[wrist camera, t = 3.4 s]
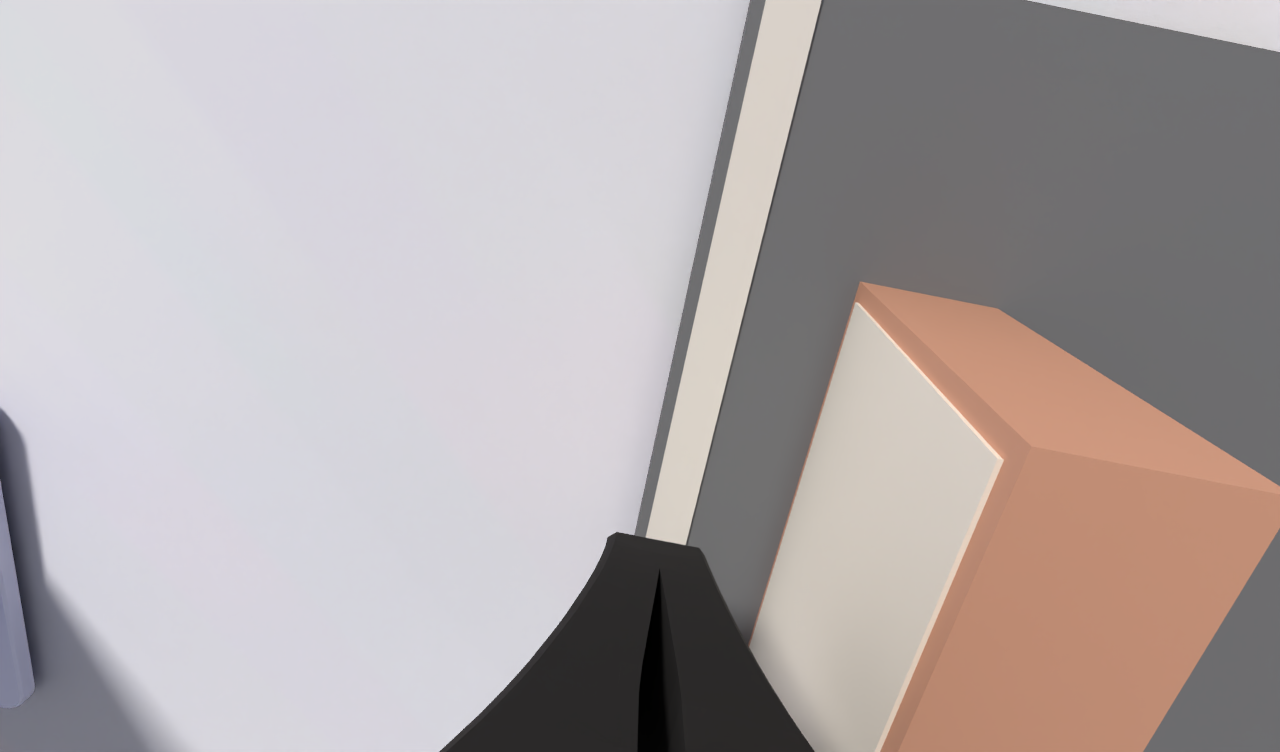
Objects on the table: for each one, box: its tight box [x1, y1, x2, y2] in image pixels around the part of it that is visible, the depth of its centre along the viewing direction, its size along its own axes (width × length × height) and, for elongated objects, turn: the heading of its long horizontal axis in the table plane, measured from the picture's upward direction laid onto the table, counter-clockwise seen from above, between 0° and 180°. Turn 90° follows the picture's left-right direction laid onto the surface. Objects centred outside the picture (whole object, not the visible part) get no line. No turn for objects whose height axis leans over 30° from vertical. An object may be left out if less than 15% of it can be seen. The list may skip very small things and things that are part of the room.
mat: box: [634, 0, 1280, 752], centre depth 14 cm, size 20×18×1 cm
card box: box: [748, 282, 1280, 752], centre depth 11 cm, size 2×9×6 cm, turn 169°
